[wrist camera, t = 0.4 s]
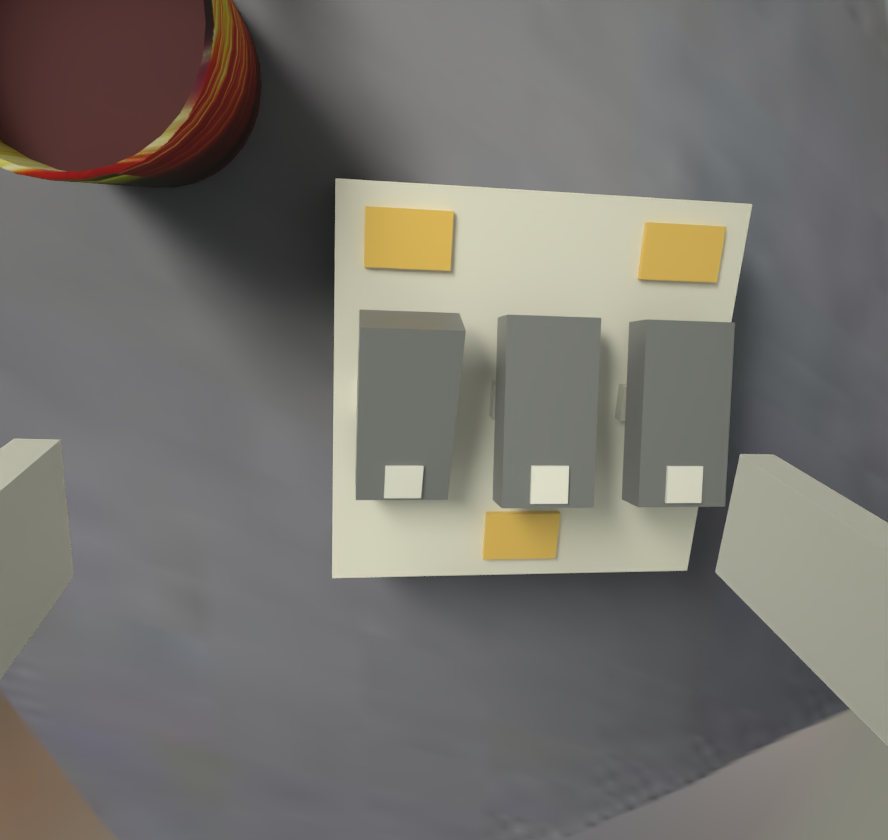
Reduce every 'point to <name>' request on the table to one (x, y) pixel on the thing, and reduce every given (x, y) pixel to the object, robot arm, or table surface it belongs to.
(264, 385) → the table surface
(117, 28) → the mug
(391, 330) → the block
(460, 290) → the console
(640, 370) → the block
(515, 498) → the block
